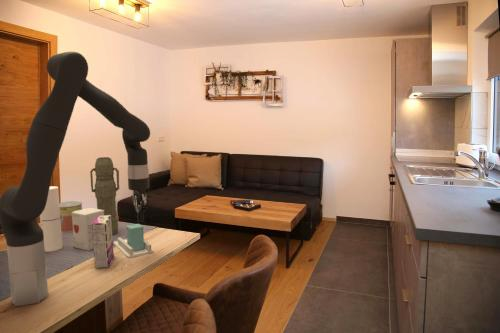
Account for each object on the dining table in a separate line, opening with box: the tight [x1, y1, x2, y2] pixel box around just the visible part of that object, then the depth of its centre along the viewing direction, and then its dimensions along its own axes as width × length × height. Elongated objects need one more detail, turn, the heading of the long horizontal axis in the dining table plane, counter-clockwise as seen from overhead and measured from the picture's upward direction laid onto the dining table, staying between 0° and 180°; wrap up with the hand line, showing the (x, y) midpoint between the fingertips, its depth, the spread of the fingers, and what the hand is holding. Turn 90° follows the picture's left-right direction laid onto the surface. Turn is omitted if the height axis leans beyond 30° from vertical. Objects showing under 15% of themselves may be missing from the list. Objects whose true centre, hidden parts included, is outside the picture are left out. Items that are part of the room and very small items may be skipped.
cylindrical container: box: [39, 185, 63, 253], centre depth 148 cm, size 7×7×25 cm
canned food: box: [59, 200, 83, 233], centre depth 175 cm, size 11×11×12 cm
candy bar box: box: [92, 215, 115, 269], centre depth 134 cm, size 11×5×16 cm, turn 12°
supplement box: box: [72, 207, 104, 251], centre depth 151 cm, size 9×9×15 cm
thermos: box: [89, 156, 120, 237], centre depth 165 cm, size 9×12×35 cm
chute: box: [113, 237, 155, 259], centre depth 149 cm, size 20×10×3 cm, turn 36°
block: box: [126, 223, 145, 251], centre depth 146 cm, size 5×5×9 cm
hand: (140, 221), depth 139 cm, fingers closed
